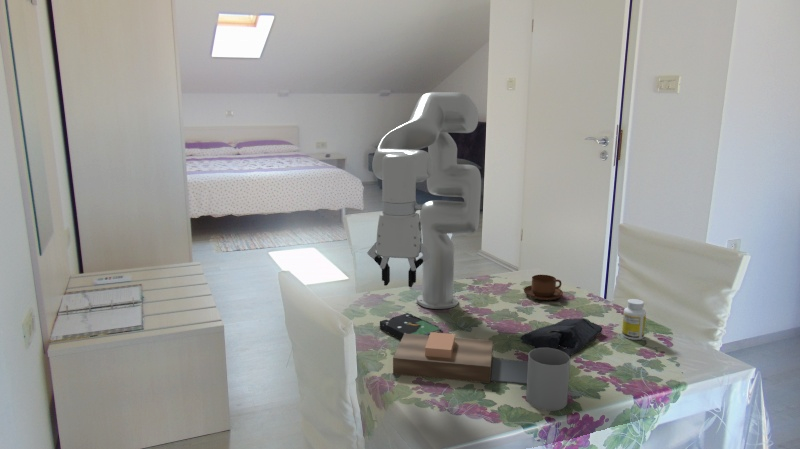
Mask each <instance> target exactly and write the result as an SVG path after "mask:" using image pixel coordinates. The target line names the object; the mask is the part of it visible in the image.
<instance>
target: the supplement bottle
mask: <svg viewBox="0 0 800 449" xmlns="http://www.w3.org/2000/svg"><path fill="white" fill-rule="evenodd" d="M626 304H627V305H626V306H627V307H625V308H623V315H622V316H623V319H622V327H621V328H622V330H621V334H622V337H624V338H626V339H628V340H632V341H638V340H640V341H641V340H642V339H644V337H645V328H646V317H647V313H646V310H645V309H643V308H644V306H645V302H644V300H641V299H637V298H629V299H627V302H626Z"/></svg>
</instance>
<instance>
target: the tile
mask: <svg viewBox="0 0 800 449" xmlns="http://www.w3.org/2000/svg"><path fill="white" fill-rule="evenodd" d="M455 338H456V333H447V332H446V333H445V332H443V333H435V332H431V333H430V335H429V338H428V341H427V344H426V347H425V356H432V357H444V358H451V356H452V352H453V348H454V344H455Z"/></svg>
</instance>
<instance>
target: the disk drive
mask: <svg viewBox="0 0 800 449" xmlns="http://www.w3.org/2000/svg"><path fill="white" fill-rule="evenodd" d="M379 330H381V331H383V332H385V333H387V334H389V335H391V336H392V337H395V338H397V339H399V340H401V339H402V337H403V335H404V333H405V334H417V335H430V333H431V332H435V333H444V330H443V329H442V328H441V327H439V326H438V325H436V324H433V323H431V322H429V321H427V320H425V319H423V318H420V317H418V316H416V315H414V314H411V313H409V312H406V313H404V314H401V315H397V316H393V317H391V318H390V319H383V320H380V321H379Z"/></svg>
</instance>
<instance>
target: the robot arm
mask: <svg viewBox="0 0 800 449" xmlns="http://www.w3.org/2000/svg"><path fill="white" fill-rule="evenodd" d="M479 116H480V115H479V110H478V108H477V104H475V102H474V101H473V99H472V98H471V97H470V96H469V95H467V94H466V93H463V92H457V91H455V92H454V91H453V92H451V91H450V92H449V91H447V92H445V91H444V92H443V91H442V92H441V91H439V92H438V91H432V92H431V91H430V92H426V93H424V94H423V95H421V96H420V97H419V98H418V100H417V102H416V104H415V106H414V109H413V110H412V113H411V115H410V118H409V120H408V121H407V122H405V123H403V124H401V125H399V126H397V127H396V128H394V129H392V130H390V131H389V132H387V134H384V135H383V137H382V138H381V140H380V141H379V143H378V146H377V147H376V150H375V152H374V155H373V158H372V163H371V166H372V172H373V174H374V176H375V177H376V178H377V179H379V180H382V181H381V183H382V185H381V186H382V190H381V194H382V195H381V196H382V200H381V202H382V212H380V213H379V217H378V222H377V223H378V224H377V231H376V242H375V243H374V244H373V245H372V246H371V247H370V249H368V251H367V252H366V253H367V254H366V255H368V256H369V257H370V258H371V259H372V260H374V261H375V263H377V265H378V266H379V268H380V269H381V281H382V282H383V286H386V287H387V286H388V285H389V283H390V282H391V281H390V280H391V279H390V278H391V276H390V275H391V269H390V265H389V264H388V263H389V260H390V258H394V259H395V258H396V259H407V260H408V264H409V269H408V281H407V282H408V284H407V286H408V287H409V288H412V287H413V286H414V284H416V282H417V270H418V268H420V266H421V265H422V269H421V271H422V272H421V273H422V276H421V286H422V288H421V294H419V295H418V296H417V298H416V303H417V304H418V305H419V306H421V307H424V308H426V309H431V310H444V309H445V310H447V309H451V308H453V307H456V306H457V305H458V304H459V298H458V297H457V296H456V295H454V273H455V272H454V271H455V269H454V268H455V266H454V265H455V245H454V243H453V241H452V239H451V238H450V236H449V234H453V235H465V236H466V235H474V234H475V233H477V231H478V229H479V224H480V214H481V213H480V212H481V196H482V195H481V193H482V177H481V176H482V175H481V171H480V169H479V168H478V167H477V166H476V165H472V164H464V163H463V164H462V163H461V164H458V162H457V161H458V160H457V159H458V147H457V143H456V141H455V140H454V138H453V137H452V136H451V135H450V134H449V133H452V134H453V133H454V134H455V133H459V134H470V133H473V132H474V131H475V130H476V129H477V127H478V124H479ZM424 148H428V149H427V150H423V149H424ZM425 181H426V188H427V192H429V193H430V194H431V195H434V196H440V197H441V196H442V197H454V198H455V197H456V198H462V199H463V200H464V201H453V200H439V199H437V200H435V199H434V200H429V201H426V202H425V203H422V204H421V203H418V202H417V199H416V197H417V196H416V193H417V191H416V188H417V185H416V184H417V183H422V182H425ZM417 211H419V213H418V212H417ZM420 254H422V256H420ZM419 256H420V257H419ZM417 258H418V259H417Z"/></svg>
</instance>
